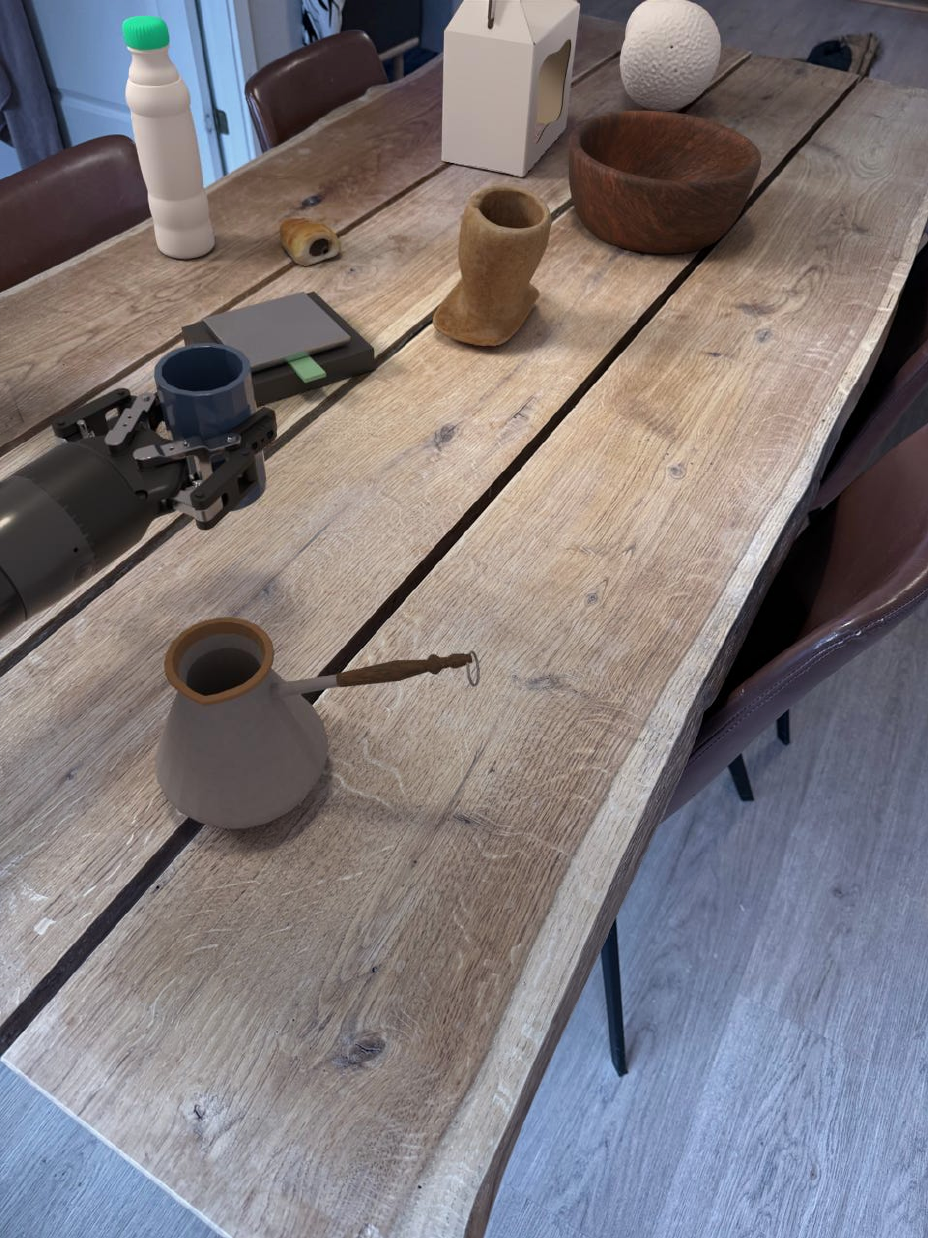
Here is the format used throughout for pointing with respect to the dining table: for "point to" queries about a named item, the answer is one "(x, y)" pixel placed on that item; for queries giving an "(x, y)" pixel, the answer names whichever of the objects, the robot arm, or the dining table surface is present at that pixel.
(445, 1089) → the dining table surface
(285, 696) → the coffee pot
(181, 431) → the cup
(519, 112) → the gable box
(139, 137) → the water bottle
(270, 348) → the scale pan
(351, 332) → the scale
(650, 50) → the decorative orb
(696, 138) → the wooden bowl
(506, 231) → the stone cup
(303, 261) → the pastry
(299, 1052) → the dining table surface
